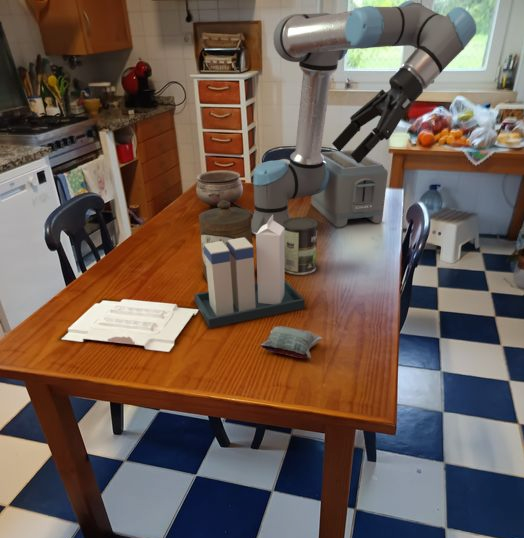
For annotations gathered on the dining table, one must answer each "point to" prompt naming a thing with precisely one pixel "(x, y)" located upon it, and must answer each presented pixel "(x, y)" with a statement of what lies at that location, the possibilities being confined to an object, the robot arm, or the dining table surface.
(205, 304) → the tray
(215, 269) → the carton
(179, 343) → the dining table surface
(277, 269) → the milk
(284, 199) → the robot arm
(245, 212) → the wooden container
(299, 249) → the coffee can
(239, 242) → the carton
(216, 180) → the cooking pot
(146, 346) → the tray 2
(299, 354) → the packaged food
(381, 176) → the toaster
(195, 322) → the dining table surface
